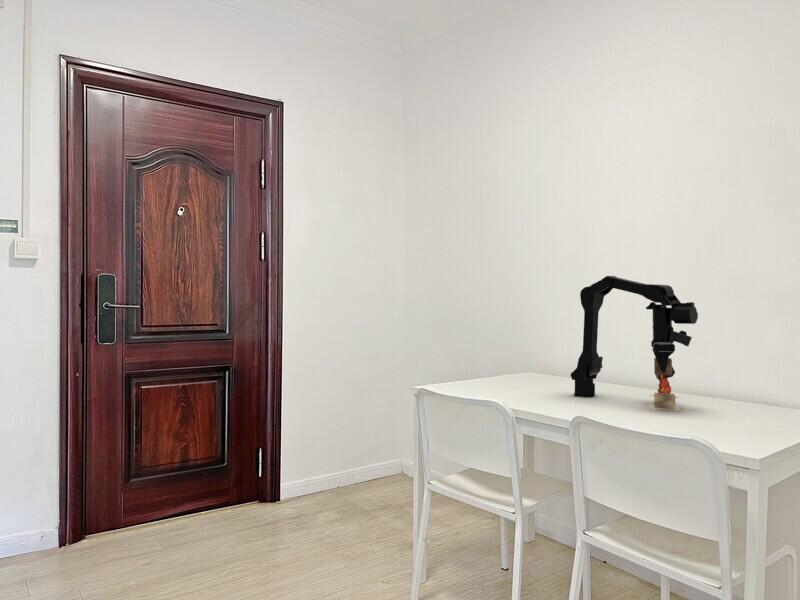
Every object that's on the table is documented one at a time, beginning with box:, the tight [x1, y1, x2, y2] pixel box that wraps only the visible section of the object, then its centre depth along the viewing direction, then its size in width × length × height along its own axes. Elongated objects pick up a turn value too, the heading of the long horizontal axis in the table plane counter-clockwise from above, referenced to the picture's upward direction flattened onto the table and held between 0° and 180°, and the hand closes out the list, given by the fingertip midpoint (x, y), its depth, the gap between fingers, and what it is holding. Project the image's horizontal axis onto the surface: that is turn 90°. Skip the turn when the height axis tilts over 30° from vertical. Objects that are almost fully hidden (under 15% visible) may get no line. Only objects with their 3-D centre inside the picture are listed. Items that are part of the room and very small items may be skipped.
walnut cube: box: [653, 357, 673, 376], centre depth 197 cm, size 5×5×5 cm
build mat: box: [648, 403, 682, 412], centre depth 200 cm, size 22×15×1 cm
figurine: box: [655, 366, 676, 394], centre depth 217 cm, size 6×6×12 cm
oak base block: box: [653, 392, 676, 410], centre depth 197 cm, size 6×6×4 cm
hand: (663, 371), depth 197 cm, fingers closed on walnut cube, 5 cm apart
